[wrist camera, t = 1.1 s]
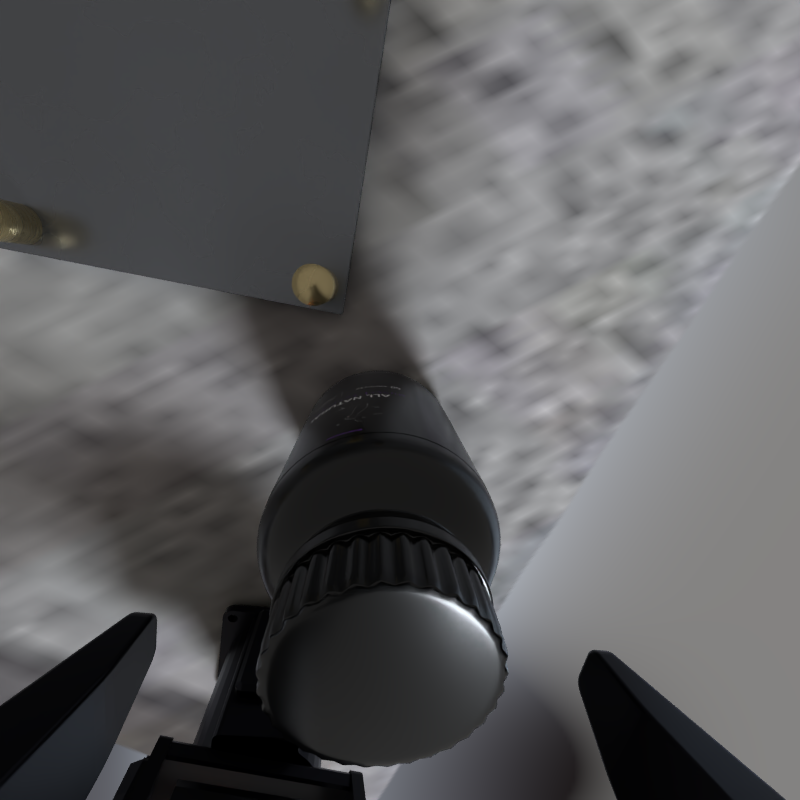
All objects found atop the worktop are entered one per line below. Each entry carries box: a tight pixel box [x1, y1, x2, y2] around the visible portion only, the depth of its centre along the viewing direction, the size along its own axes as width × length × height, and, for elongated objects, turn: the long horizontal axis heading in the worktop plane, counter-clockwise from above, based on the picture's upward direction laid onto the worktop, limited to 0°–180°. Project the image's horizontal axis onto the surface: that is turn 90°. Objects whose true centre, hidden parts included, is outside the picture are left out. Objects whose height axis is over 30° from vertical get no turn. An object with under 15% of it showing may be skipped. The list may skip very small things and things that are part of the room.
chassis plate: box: [0, 0, 391, 314], centre depth 12 cm, size 13×13×3 cm
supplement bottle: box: [256, 371, 508, 767], centre depth 13 cm, size 7×7×12 cm
